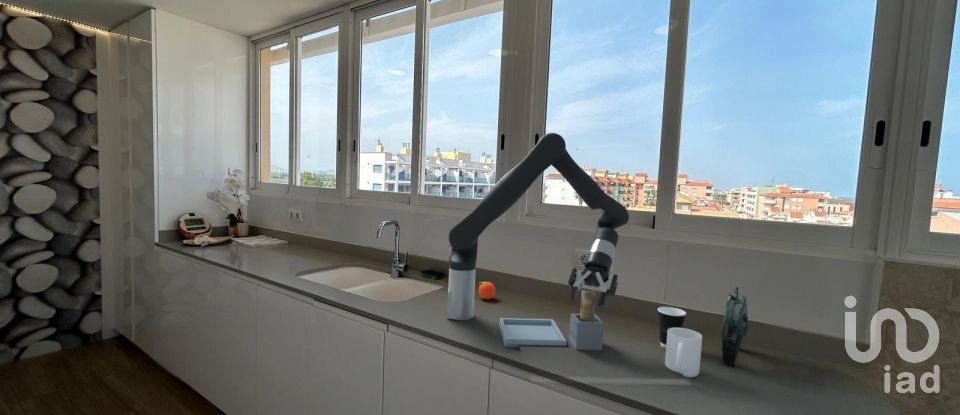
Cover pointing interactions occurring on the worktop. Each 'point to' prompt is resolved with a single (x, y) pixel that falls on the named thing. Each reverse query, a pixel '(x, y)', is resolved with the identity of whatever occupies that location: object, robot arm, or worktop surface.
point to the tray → (530, 332)
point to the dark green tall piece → (734, 327)
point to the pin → (587, 305)
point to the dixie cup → (669, 321)
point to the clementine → (486, 290)
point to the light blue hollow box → (586, 333)
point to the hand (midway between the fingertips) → (586, 302)
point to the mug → (683, 351)
